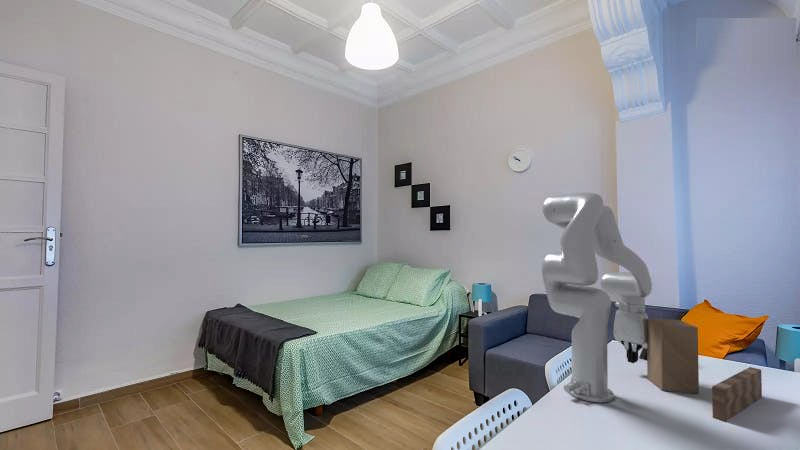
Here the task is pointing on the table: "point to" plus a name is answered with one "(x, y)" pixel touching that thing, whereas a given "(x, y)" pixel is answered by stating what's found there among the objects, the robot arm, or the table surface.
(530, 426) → the table surface
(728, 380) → the walnut board
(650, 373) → the wooden block
